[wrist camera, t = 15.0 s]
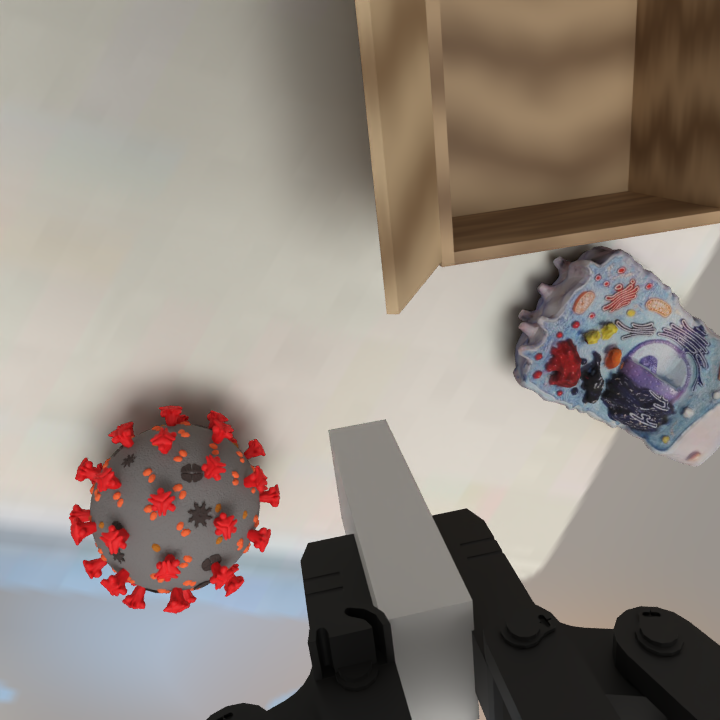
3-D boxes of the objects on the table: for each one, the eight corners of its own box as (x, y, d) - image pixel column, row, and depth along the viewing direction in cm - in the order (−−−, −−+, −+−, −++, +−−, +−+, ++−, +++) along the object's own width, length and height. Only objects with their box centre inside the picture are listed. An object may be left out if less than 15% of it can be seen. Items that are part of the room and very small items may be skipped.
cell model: (716, 495, 51) (521, 403, 45) (641, 434, 61) (474, 352, 55) (820, 360, 48) (625, 242, 42) (723, 318, 58) (554, 219, 52)
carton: (363, -137, 40) (409, -232, 29) (648, -158, 43) (791, -254, 32) (397, 233, 49) (442, 267, 38) (630, 198, 52) (736, 220, 41)
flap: (411, -222, 29) (398, -219, 29) (337, -342, 21) (320, -335, 21) (442, 260, 38) (432, 261, 38) (398, 314, 30) (386, 314, 30)
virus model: (78, 383, 49) (15, 486, 35) (270, 370, 52) (280, 461, 38) (106, 535, 54) (61, 676, 41) (278, 517, 57) (291, 644, 43)
